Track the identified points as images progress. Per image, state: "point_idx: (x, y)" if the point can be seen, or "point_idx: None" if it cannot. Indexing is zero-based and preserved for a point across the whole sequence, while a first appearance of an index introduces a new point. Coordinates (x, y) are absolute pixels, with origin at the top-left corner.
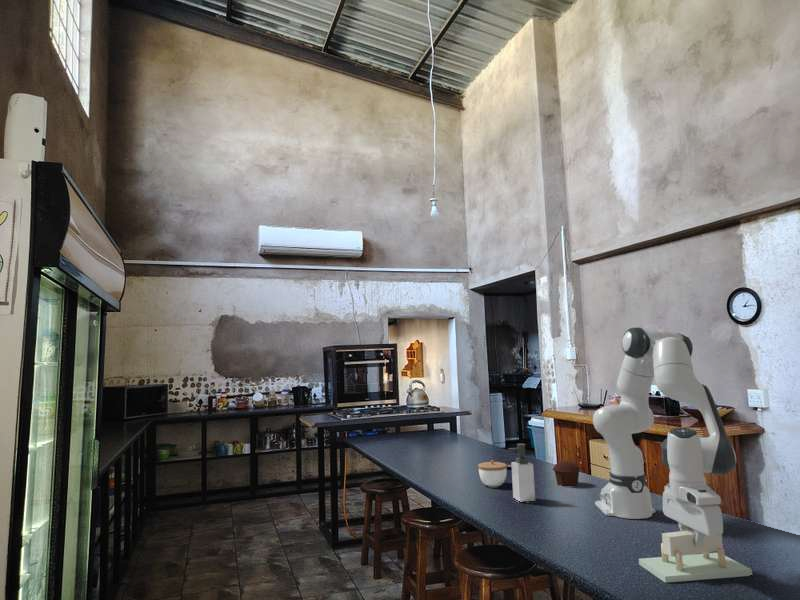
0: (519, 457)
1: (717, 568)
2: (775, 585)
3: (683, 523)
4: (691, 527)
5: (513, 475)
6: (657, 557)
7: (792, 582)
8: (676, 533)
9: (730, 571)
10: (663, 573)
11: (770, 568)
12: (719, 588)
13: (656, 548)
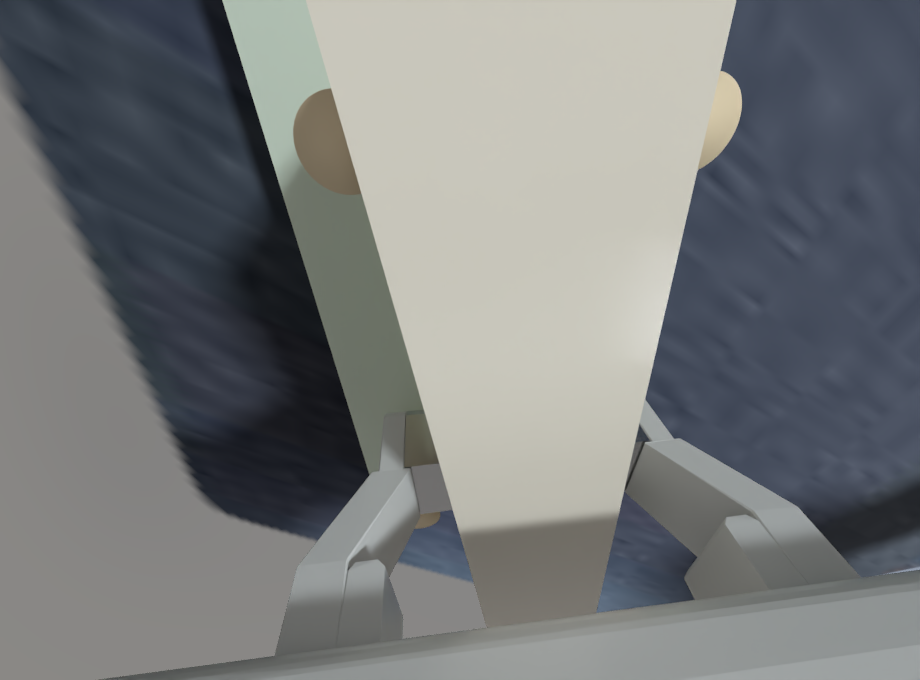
0: None
1: (394, 393)
2: (280, 497)
3: (660, 637)
4: (377, 670)
5: None
6: None
7: (317, 539)
8: (563, 340)
9: (356, 427)
10: None
11: (442, 536)
12: (179, 280)
13: (860, 244)
